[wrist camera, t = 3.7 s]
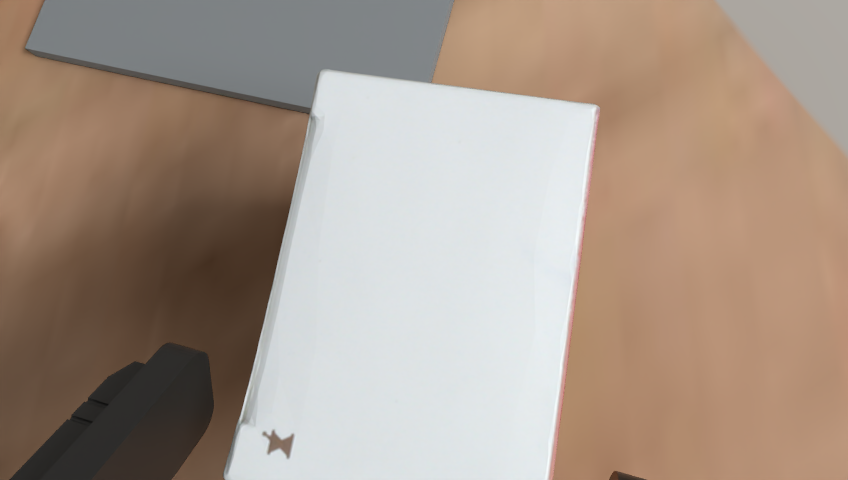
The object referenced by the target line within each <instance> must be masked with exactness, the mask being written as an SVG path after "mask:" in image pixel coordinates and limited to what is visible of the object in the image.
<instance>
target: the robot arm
mask: <svg viewBox="0 0 848 480" xmlns="http://www.w3.org/2000/svg"><path fill="white" fill-rule="evenodd" d="M213 408H214V400H213V392H212V384H211V375H210V367H209V359H208V356H207V354H206V353H205V352H202V351H199V350H195V349H192V348H188V347H185V346H181V345H178V344H174V343H167V344H165V345H163V346H162V347H161V348H160V349H159V350H158V351H157V352H156V353H155V354H154V355H153V356H152V358H151V359H150V360H149V361H148V362H147V363H146V364H143V363H139V362H136V361H135V362H133V363H131V364H130V365H128V366H126V367H124V368H123V369H121V370H119V371H118V372H116V373H114V374H112V375H111V376H109V377H108V378H107V379H106V380H105V381H104V382H103V383H102V384H101V385H100V386H99V387H98V388H97V389H96V390H95V391H94V392H93V393H92V394H91V395H90V396H89V397H88V401H87V402H84V403H83V404H82V405H81V406H80V407H79V408H78V409H77V410H76V411H75V412H74V413H73V414H72V417H71V419H70V420H68V419H67V420H66V421H65V422H64V423H63V425H62V426H61V427H60V428H59V429H58V430H57V431H56V432H55V433H54V434H53V435H52V436H51V437H50V438H49V439H48V440H47V441H46V442H45V443H44V444H43V445H42V446H41V447H40V448H39V449H38V451H37V452H36V453H35V454H34V455H33V456H32V457H31V458H30V459H29V460H28V461H27V462H26V463H25V464H24V465H23V466H22V467H21V468H20V469H19V470H18V471H17V472H16V473H15V474H14V476H13V477H12V478H11V479H10V480H172V478H173V477H174V475H175V474H176V473H177V471H178V470H179V468H180V467H181V466H182V464H183V463H184V461H185V460H186V458H187V457H188V456H189V454H190V453H191V451H192V450H193V448H194V447H195V446H196V444H197V443H198V441H199V440H200V439H201V437H202V436H203V434H204V433H205V431H206V429H207V427H208V425H209V423H210V420H211V417H212V413H213ZM609 480H646V479H642V478H639V477H635V476H632V475H628V474H625V473H621V472H618V471H614V472H613V473H612V475H611V477H610V479H609Z"/></svg>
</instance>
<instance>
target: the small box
mask: <svg viewBox="0 0 848 480" xmlns="http://www.w3.org/2000/svg"><path fill="white" fill-rule="evenodd" d="M599 113H600V108H599V107H598V106H597V105H595V104H589V103H580V102H572V101H565V100H557V99H549V98H542V97H534V96H527V95H519V94H511V93H504V92H496V91H488V90H481V89H473V88H465V87H458V86H450V85H442V84H435V83H427V82H420V81H412V80H404V79H397V78H389V77H381V76H373V75H365V74H358V73H350V72H342V71H335V70H329V69H325V70H321V71H320V72H319V73H318V74H317V77H316V81H315V86H314V93H313V99H312V104H311V110H310V116H309V122H308V127H307V132H306V137H305V142H304V147H303V152H302V157H301V161H300V166H299V170H298V175H297V179H296V184H295V188H294V192H293V197H292V202H291V206H290V211H289V215H288V219H287V224H286V228H285V232H284V237H283V241H282V246H281V250H280V254H279V259H278V263H277V267H276V272H275V276H274V280H273V285H272V289H271V293H270V297H269V302H268V306H267V310H266V314H265V318H264V323H263V328H262V332H261V336H260V340H259V344H258V349H257V353H256V357H255V360H254V364H253V368H252V372H251V376H250V380H249V384H248V388H247V392H246V396H245V400H244V404H243V408H242V411H241V414H240V417H239V420H238V423H237V426H236V430H235V433H234V437H233V441H232V444H231V448H230V452H229V455H228V459H227V462H226V465H225V469H224V473H223V477H224V479H225V480H553V474H554V466H555V458H556V450H557V443H558V435H559V428H560V420H561V412H562V405H563V397H564V389H565V381H566V373H567V365H568V358H569V350H570V342H571V333H572V325H573V317H574V310H575V302H576V294H577V286H578V278H579V270H580V262H581V254H582V246H583V238H584V230H585V222H586V214H587V205H588V198H589V191H590V183H591V176H592V168H593V160H594V151H595V143H596V135H597V127H598V120H599Z"/></svg>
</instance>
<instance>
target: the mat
mask: <svg viewBox="0 0 848 480" xmlns="http://www.w3.org/2000/svg"><path fill="white" fill-rule="evenodd" d="M453 2H454V0H45V1H44V4H43V6H42V9H41V11H40V13H39V16H38V18H37V21H36V23H35V25H34V28H33V30H32V33H31V35H30V38H29V40H28V42H27V45H26V47H25V49H27V50H28V51H30V52H31V53H33V54H34V55H35V56H39V57H44V58H48V59H53V60H58V61H63V62H67V63H72V64H77V65H81V66H86V67H91V68H96V69H100V70H105V71H110V72H115V73H119V74H124V75H129V76H134V77H138V78H143V79H148V80H153V81H157V82H162V83H167V84H172V85H176V86H181V87H186V88H190V89H195V90H200V91H205V92H209V93H214V94H219V95H224V96H228V97H233V98H238V99H243V100H247V101H252V102H257V103H262V104H266V105H271V106H276V107H280V108H285V109H290V110H295V111H299V112H304V113H309V114H310V110H311V104H312V99H313V93H314V86H315V81H316V77H317V74H318V73H319V72H320V71H321V70H325V69H329V70H335V71H342V72H350V73H358V74H365V75H373V76H381V77H389V78H397V79H404V80H412V81H420V82H427V83H431V82H432V78H433V74H434V71H435V67H436V64H437V60H438V56H439V53H440V49H441V46H442V42H443V38H444V35H445V31H446V28H447V24H448V20H449V17H450V13H451V10H452V6H453Z"/></svg>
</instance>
